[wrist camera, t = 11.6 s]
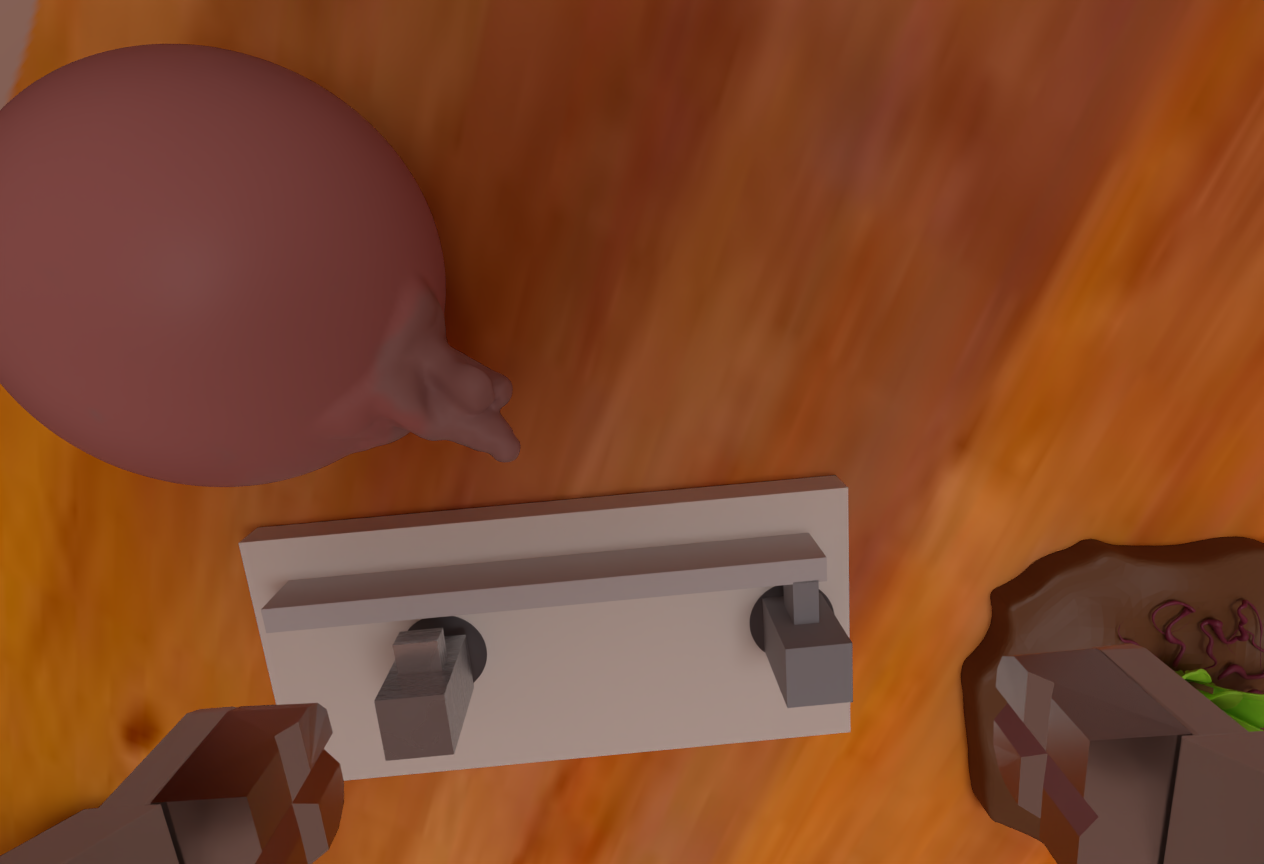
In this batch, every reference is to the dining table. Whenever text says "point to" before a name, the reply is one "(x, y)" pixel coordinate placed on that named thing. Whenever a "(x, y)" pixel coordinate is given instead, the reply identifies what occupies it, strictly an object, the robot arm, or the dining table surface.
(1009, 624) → the plant
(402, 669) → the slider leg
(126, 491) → the dining table surface
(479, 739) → the grey peg board
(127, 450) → the balloon
